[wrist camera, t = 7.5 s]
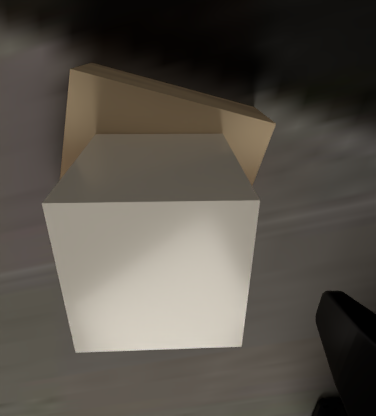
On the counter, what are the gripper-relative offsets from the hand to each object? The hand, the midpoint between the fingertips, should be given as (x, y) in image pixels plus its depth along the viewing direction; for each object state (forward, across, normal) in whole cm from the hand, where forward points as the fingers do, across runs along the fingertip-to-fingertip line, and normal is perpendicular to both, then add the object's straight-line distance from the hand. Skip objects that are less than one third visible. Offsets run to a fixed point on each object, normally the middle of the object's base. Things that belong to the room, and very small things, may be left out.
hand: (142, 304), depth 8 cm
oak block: (+11, 0, 0) cm, 11 cm away
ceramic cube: (+7, 0, 0) cm, 7 cm away
